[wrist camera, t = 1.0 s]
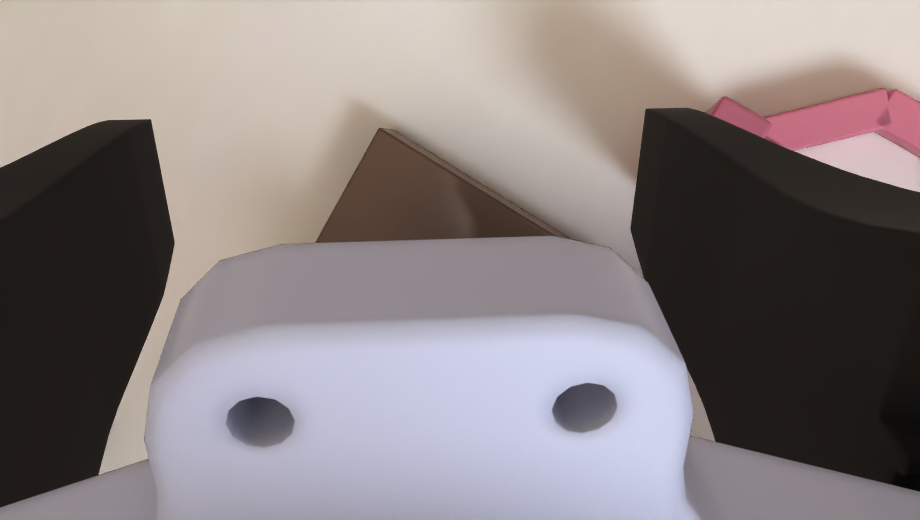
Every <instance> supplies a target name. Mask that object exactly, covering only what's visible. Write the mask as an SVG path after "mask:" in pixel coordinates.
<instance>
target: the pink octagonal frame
mask: <svg viewBox="0 0 920 520" xmlns="http://www.w3.org/2000/svg"><path fill="white" fill-rule="evenodd" d="M706 113H707V114H709V115H712V116H714V117H717V118H719V119H722V120H724V121H726V122H729V123H731V124H733V125H735V126H738V127H740V128H742V129H744V130H747V131H749V132H751V133H753V134H755V135H758V136H760V137H762V138H764V139H767V140H769V141H771V142H773V143H776V144H778V145H780V146H783V147H785V148H787V149H790V150H792V151H795V150H799V149H803V148H808V147H812V146H816V145H820V144H824V143H828V142H832V141H837V140H841V139H845V138H849V137H853V136H857V135H861V134H866V133H870V132H876V133H878V134H879V135H881V136H883V137H885V138H886V139H888V140H890V141H892V142H893V143H895V144H897V145H899V146H901V147H902V148H904V149H906V150H908V151H909V152H911V153H913V154H915V155H916V156H918V157H920V102H919V101H917V100H915V99H913V98H911V97H910V96H908V95H906V94H904V93H903V92H901V91H899V90H897V89H894V90H891V91H888V92H887V90H886V89H885V88H880V89H876V90H872V91H868V92H864V93H860V94H856V95H852V96H848V97H844V98H840V99H836V100H832V101H828V102H825V103H821V104H817V105H813V106H809V107H805V108H801V109H797V110H793V111H789V112H785V113H781V114H777V115H773V116H769V117H765V118H763V117H761V116H759V115H758V114H756V113H754V112H752V111H751V110H749V109H747V108H746V107H744V106H742V105H740V104H739V103H737V102H735V101H733V100H732V99H730V98H728V97H725V96H724V97H722V98H721V99H720V100H719V101H718V102H717V103H716V104H715V105H713V106H712V107H711V108H710V109H709V110H708V111H707V112H706Z"/></svg>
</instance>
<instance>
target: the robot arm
mask: <svg viewBox="0 0 920 520" xmlns="http://www.w3.org/2000/svg"><path fill="white" fill-rule="evenodd" d="M631 233H632V237H633V240H634V244H635V248H636V252H637V255H638V259H639V262H640V265H641V269H642V272H643V275H644V279H645V280H644V279H643V278H642V277H641V276H640V275H639V274H638V273H637V272H636V271H635V270H634V269H632V268H631V267H630V266H629V265H628V264H627V263H626V262H625V261H624V260H623V259H622V258H621V257H620V256H618V255H617V254H616V253H615V252H614V251H613V250H612V249H611V248H608V247H603V246H598V245H594V244H589V243H584V242H579V241H574V240H569V239H565V238H560V237H555V236H530V237H497V238H465V239H432V240H400V241H367V242H335V243H302V244H279V245H276V246H272V247H268V248H264V249H261V250H257V251H253V252H249V253H246V254H242V255H238V256H234V257H230V258H227V259H223V260H219V262H218V263H217V264H216V265H215V266H214V267H213V268H212V269H211V270H210V271H209V272H208V273H207V274H206V275H205V276H204V277H203V278H202V279H201V280H200V281H199V282H198V283H197V284H196V285H195V286H194V287H193V288H192V289H191V290H190V291H189V292H188V293H187V294H186V295H185V296H184V297H183V298H182V299H181V300H180V303H179V306H178V309H177V311H176V314H175V317H174V320H173V323H172V326H171V329H170V331H169V334H168V337H167V340H166V343H165V346H164V349H163V351H162V354H161V357H160V360H159V363H158V366H157V368H156V371H155V374H154V377H153V380H152V383H151V386H150V393H149V401H148V409H147V418H146V426H145V435H144V441H145V445H146V449H147V453H148V457H149V459H146V460H143V461H140V462H137V463H134V464H131V465H128V466H125V467H122V468H119V469H116V470H113V471H110V472H107V473H104V474H101V475H98V474H99V470H100V466H101V462H102V459H103V455H104V451H105V447H106V443H107V440H108V436H109V432H110V429H111V427H112V424H113V421H114V418H115V415H116V412H117V409H118V407H119V404H120V402H121V399H122V397H123V394H124V392H125V389H126V387H127V385H128V382H129V380H130V377H131V375H132V372H133V370H134V368H135V365H136V363H137V360H138V358H139V355H140V353H141V350H142V348H143V346H144V343H145V341H146V338H147V336H148V333H149V331H150V328H151V326H152V323H153V321H154V318H155V316H156V313H157V311H158V308H159V306H160V303H161V300H162V298H163V295H164V291H165V287H166V282H167V278H168V274H169V269H170V264H171V259H172V254H173V249H174V244H175V242H174V237H173V232H172V226H171V221H170V216H169V211H168V206H167V200H166V195H165V190H164V185H163V180H162V175H161V169H160V164H159V159H158V154H157V149H156V144H155V138H154V133H153V128H152V123H151V119H145V120H107V121H103V122H98V123H95V124H93V125H90V126H87V127H85V128H83V129H80V130H78V131H76V132H74V133H72V134H69V135H67V136H65V137H63V138H61V139H59V140H57V141H55V142H53V143H51V144H49V145H47V146H45V147H43V148H41V149H39V150H37V151H35V152H33V153H31V154H29V155H26V156H24V157H22V158H20V159H18V160H16V161H14V162H12V163H10V164H8V165H6V166H3V167H1V168H0V520H920V192H916V191H912V190H907V189H904V188H900V187H896V186H893V185H890V184H886V183H883V182H879V181H876V180H872V179H869V178H865V177H862V176H859V175H856V174H853V173H850V172H847V171H844V170H841V169H838V168H835V167H833V166H830V165H828V164H825V163H822V162H820V161H817V160H815V159H812V158H809V157H807V156H804V155H802V154H799V153H797V152H794V151H792V150H790V149H787V148H785V147H783V146H780V145H778V144H776V143H773V142H771V141H769V140H767V139H764V138H762V137H760V136H758V135H755V134H753V133H751V132H749V131H747V130H744V129H742V128H740V127H738V126H735V125H733V124H731V123H729V122H726V121H724V120H722V119H719V118H717V117H714V116H712V115H709V114H707V113H704V112H701V111H698V110H694V109H689V108H660V109H646V111H645V119H644V127H643V134H642V142H641V150H640V158H639V166H638V174H637V182H636V189H635V197H634V205H633V213H632V221H631ZM686 367H687V368H686ZM687 369H688V371H689V373H690V375H691V377H692V379H693V381H694V384H695V386H696V388H697V391H698V393H699V396H700V398H701V400H702V403H703V405H704V408H705V411H706V414H707V417H708V420H709V423H710V426H711V429H712V432H713V435H714V438H715V441H716V442H714V441H710V440H706V439H701V438H697V437H693V436H689V435H690V430H691V425H692V420H693V415H694V413H693V407H692V400H691V394H690V387H689V381H688V374H687Z"/></svg>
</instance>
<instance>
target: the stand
mask: <svg viewBox="0 0 920 520" xmlns="http://www.w3.org/2000/svg"><path fill="white" fill-rule="evenodd" d="M530 236H555V237H560V238H565V239H569V240H571V239H570V238H568V237H566V236H565V235H563V234H561V233H560V232H558V231H557V230H555V229H553V228H552V227H550V226H548V225H547V224H545V223H544V222H542V221H540V220H539V219H537V218H535V217H534V216H532V215H531V214H529V213H527V212H526V211H524V210H522V209H521V208H519V207H518V206H516V205H514V204H513V203H511V202H509V201H508V200H506V199H505V198H503V197H501V196H500V195H498V194H496V193H495V192H493V191H492V190H490V189H488V188H487V187H485V186H483V185H482V184H480V183H479V182H477V181H475V180H474V179H472V178H470V177H469V176H467V175H466V174H464V173H462V172H461V171H459V170H457V169H456V168H454V167H453V166H451V165H449V164H448V163H446V162H444V161H443V160H441V159H440V158H438V157H436V156H435V155H433V154H431V153H430V152H428V151H427V150H425V149H423V148H422V147H420V146H418V145H417V144H415V143H414V142H412V141H410V140H409V139H407V138H405V137H404V136H402V135H401V134H399V133H397V132H396V131H394V130H391V129H384V128H379V129H378V130H377V132H376V134H375V136H374V137H373V139H372V141H371V143H370V145H369V146H368V148H367V150H366V152H365V154H364V156H363V157H362V159H361V161H360V163H359V165H358V166H357V168H356V170H355V172H354V174H353V175H352V177H351V179H350V181H349V183H348V184H347V186H346V188H345V190H344V192H343V193H342V195H341V197H340V199H339V201H338V203H337V204H336V206H335V208H334V210H333V212H332V213H331V215H330V217H329V219H328V221H327V222H326V224H325V226H324V228H323V230H322V231H321V233H320V235H319V237H318V239H317V241H316V242H315V243H335V242H367V241H400V240H432V239H465V238H497V237H530Z"/></svg>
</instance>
